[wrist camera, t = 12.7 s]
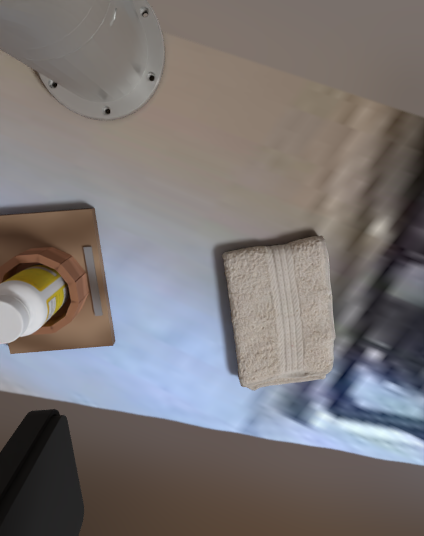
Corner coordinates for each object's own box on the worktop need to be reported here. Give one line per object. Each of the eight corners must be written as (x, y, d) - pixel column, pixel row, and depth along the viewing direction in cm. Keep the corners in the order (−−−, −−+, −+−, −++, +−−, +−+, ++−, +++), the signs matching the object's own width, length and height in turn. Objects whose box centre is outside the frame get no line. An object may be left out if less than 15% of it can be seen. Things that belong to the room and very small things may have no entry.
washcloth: (239, 383, 47) (242, 398, 44) (218, 249, 42) (219, 255, 39) (330, 368, 47) (339, 382, 44) (319, 232, 42) (329, 237, 39)
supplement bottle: (12, 272, 39) (-48, 305, 30) (57, 254, 39) (11, 281, 29) (36, 316, 41) (-14, 360, 31) (80, 298, 40) (43, 338, 31)
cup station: (-17, 216, 39) (-45, 222, 35) (94, 207, 40) (81, 213, 35) (15, 348, 44) (-6, 369, 39) (115, 340, 44) (105, 360, 39)
